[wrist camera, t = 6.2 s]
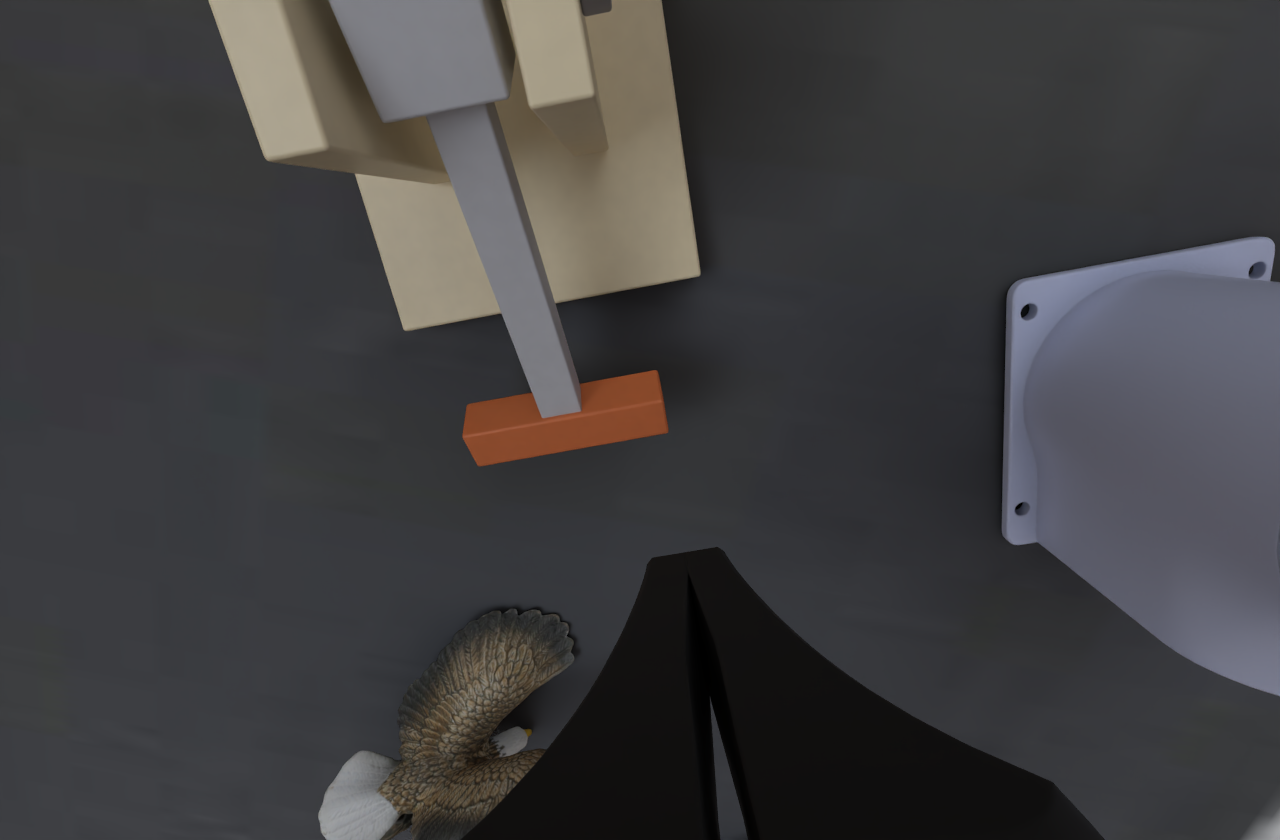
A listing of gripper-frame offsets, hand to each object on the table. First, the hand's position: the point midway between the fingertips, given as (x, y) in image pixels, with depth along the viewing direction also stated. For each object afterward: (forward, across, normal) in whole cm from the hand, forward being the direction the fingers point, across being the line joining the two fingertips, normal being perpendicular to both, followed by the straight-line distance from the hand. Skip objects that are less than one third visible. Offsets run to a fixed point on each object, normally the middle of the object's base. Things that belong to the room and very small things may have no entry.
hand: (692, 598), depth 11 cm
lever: (+5, +3, -7) cm, 9 cm away
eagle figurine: (+10, +9, +10) cm, 17 cm away
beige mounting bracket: (+10, +3, -11) cm, 15 cm away
